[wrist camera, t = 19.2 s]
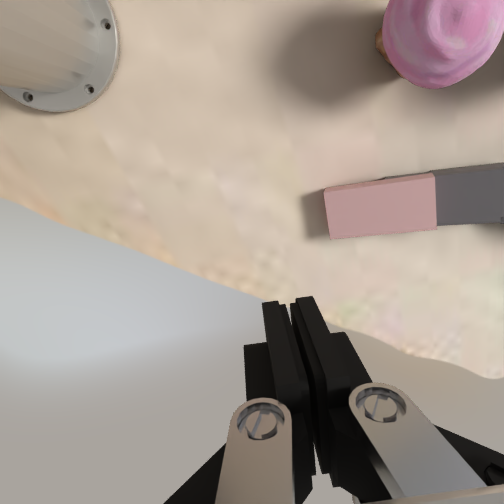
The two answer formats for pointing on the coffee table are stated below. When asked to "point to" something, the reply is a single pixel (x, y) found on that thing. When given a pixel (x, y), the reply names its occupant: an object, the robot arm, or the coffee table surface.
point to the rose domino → (382, 207)
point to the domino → (468, 195)
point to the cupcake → (439, 38)
